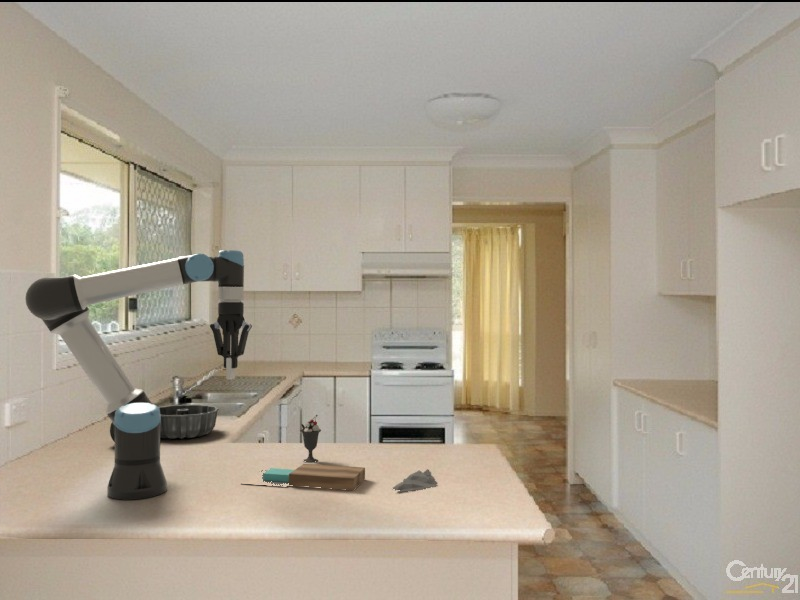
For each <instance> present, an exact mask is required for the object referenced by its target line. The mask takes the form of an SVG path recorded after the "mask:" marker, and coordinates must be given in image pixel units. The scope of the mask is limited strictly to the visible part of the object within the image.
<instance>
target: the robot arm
mask: <svg viewBox="0 0 800 600" xmlns="http://www.w3.org/2000/svg"><path fill="white" fill-rule="evenodd" d="M244 278H245V262H244V253H243V252H242V251H240V250H232V249H231V250H227V249H226V250H224V249H222V250H219V251H218V254H217V256H208V255H207V254H204V253H199V252H198V253H193V254H191V255H184V256H183V255H181V256H178V257H176V258H171V259H167V260H162V261H157V262H152V263H151V262H150V263H147V264H141V265H136V266H135V265H134V266H132V267H127V268H126V267H125V268H122V269H117V270H111V271H106V272H102V273H96V274H91V275H86V276H82V277H81V276H79V275H77V274H72V275H66V276H52V277H51V276H47V277H42V278H38V279H37V280H35V281H34V282H32V284H30V286H28V288H27V291H26V292H25V293H26V294H25V304H26V307H27V309H28V310H29V311H30V313H31V314H32V315H33V316H34V317H36V318H38V319H40V320H42V322H43V323H44V325H45V326H46V328H47V330H49V332H50V333H51V334H56V335H59V336H60V338H61V339H62V341H63V342H64V343H65V345H66V346H67V348H68V349H69V351H70V353H71V354H72V355H73V356H74V359H75V360H76V361H77V362H78V364H79V365H80V367H81V368H82V370H83V371H84V372H85V374H86V376H87V377H88V379H89V380H90V381H91V383H92V385H94V387H95V388H96V390H97V392H98V393H99V394H100V396H101V397H102V399H103V400H104V402H105V403H106V404H107V408H106V412H105V413H106V415H107V417H108V418H109V420H110V421H111V423H112V422H113V424H114V425H115V442H114V464H113V465H114V466H113V469H112V472H111V475H110V478H109V480H108V484H107V491H106V492H107V497H108V498H111V499H115V500H125V501H126V500H133V501H134V500H143V499H149V498H153V497H156V496H159V495H161V494H164V493H165V492H166V491H167V486H168V485H167V484H168V483H167V479H166V476H165V472H164V470H163V466H162V464H161V437H160V424H161V414H160V409H159V407H160V406H158V405H156V404H154V403H152V401H151V400H150V398H149V397H148V395H147V394H146V392H145V391H144V390H143V389H141V388H136V387H135V386H134V384H133V383H132V382H131V380H130V378H129V377H128V376H127V374H126V372H125V371H124V370H123V368H122V367H121V365H120V364H119V362H118V361H117V359H116V358H115V356H114V354H112V352H111V350H110V348H109V347H108V346H107V344H106V343H105V342H104V340H103V338H102V337H101V335H100V334H99V332H98V331H97V329H96V328H95V326H94V325H93V324H92V322H91V321H90V319H89V317H90V311H91V310H90V308H88V306H89V305H94V304H99V303H103V302H107V301H112V300H117V299H121V298H122V299H123V298H127V297H131V296H136V295H141V294H145V293H150V292H155V291H158V290H164V289H168V288H172V287H173V288H174V287H177V286H181V285H182V286H183V285H188V284H192V283H197V282H218V283H217V284H218V285H217V286H218V288H217V289H218V290H217V291H218V292H217V293H218V295H217V297H218V298H217V300H218V301H219V302H218V304H217V305H218V306H217V309H218V310H217V313H218V317H217V319H216V322H214V323H211V324H209V327H210V329H211V331H212V332H213V338H214V342H215V347H216V353H217V355H218V356H221V357H222V358H223V369H226V370H225V371H226V374H225V375H226V377H225V378H226V380H228V381H229V380H235V378H236V369H237V368H238V360H239V359H238V358H239V357H241V356H243V355H244V353H245V349H246V346H247V345H246V344H247V341H248V336H249V333H250V331H251V329H252V327H253V325H252V324H251V323H247V322H246V321H245V318H244V308H245V307H244V306H245V305H244V302H243V301H244V297H245V296H244V294H245V292H244V291H245V290H244V289H245V287H244V285H245V282H244V280H245V279H244ZM220 329H221V330H222V331H221V330H220ZM240 329H242V330H241V332H240ZM239 335H240V338H239Z"/></svg>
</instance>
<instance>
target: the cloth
mask: <svg viewBox="0 0 800 600" xmlns="http://www.w3.org/2000/svg"><path fill="white" fill-rule="evenodd" d="M431 487H432V488H436V487H438V482H437V481H436V479H435V477H434V476H433V475H432V473H431V472H430V469H426V470H425V471H423V472H422V471H421V470H420V469H419V470H417V471H415V472H413V473H411V474H409V475H408V476H407V477H406V478H403V482H401V481H400V482H399V483H398V484H395V485H394V486H393V487H392V488H393V489H395V490H394V491H396V490H400V491H396V493H399V494H403V493H402V492H406V493H409V492H408V491H412V492H416V490H417V491H424V490H426V488H427V489H431ZM393 489H392V490H393ZM423 489H424V490H423Z"/></svg>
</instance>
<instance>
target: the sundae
mask: <svg viewBox="0 0 800 600" xmlns="http://www.w3.org/2000/svg"><path fill="white" fill-rule="evenodd" d="M318 416H319V415H318V414H316V415H315V416H314V417H313V418H312V419H310V420H309V421H307V422H306V423H305V424H303V423H301V427H302V428H301V429H300V430H299V432H301V433H302V437H303V446H304V448H305V449H306V450H307V451H308V456H307V458H305V459H303V460H304V461H306V462H314V463H316V462H315V461H317V462H318V461H319V459H318V458H314V454H313V451H314V450H315V449H316V448H317V445H318V439H319V434H320V433H321V431H322V429H321V428H320V427H319V425H318V422H317V421H316V419H317V417H318ZM306 462H305V463H306Z"/></svg>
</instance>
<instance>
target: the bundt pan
mask: <svg viewBox="0 0 800 600" xmlns="http://www.w3.org/2000/svg"><path fill="white" fill-rule="evenodd" d="M158 407H159V409H160V414H161V424H160V439H161V438H162V439H164V440H165V439H167V440H168V439H170V440H174V439H178V438H179V439H180V440H183V439H184V438H188V439H192V438H200V437H202V436H206V435H208V434H209V433H211V432H212V431H213V430H214V429H215V426H216V422H217V417H218V411H219V408H218V407H216V406H213V405H205V404H179V405H176V404H173V405H165V406H158Z"/></svg>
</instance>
